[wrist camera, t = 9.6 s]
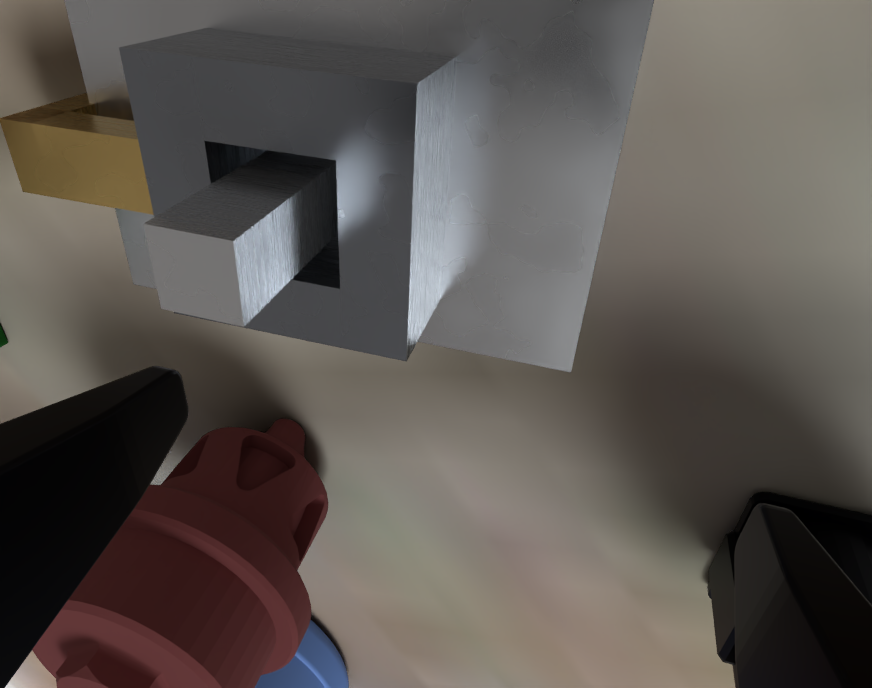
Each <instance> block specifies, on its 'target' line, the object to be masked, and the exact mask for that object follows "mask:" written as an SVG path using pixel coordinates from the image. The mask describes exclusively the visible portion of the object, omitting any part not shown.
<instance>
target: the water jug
mask: <svg viewBox="0 0 872 688" xmlns="http://www.w3.org/2000/svg"><path fill="white" fill-rule="evenodd" d="M255 688H349V683H348V675H347V671H346V667H345V665H344V662H343V660H342V658H341V656H340V654H339V652H338V650H337V649H336V647H335V646H334V644H333V643H332V642H331V640H330V639H329V638H328V637H327V635H326V634H325V633H324V632H323V631H322V630H321V629H320V628H319V627H318V626H317V625H316V624H315V623H314V622H313V621H312V620H311V619H310V623H309V626H308V628H307V630H306V633H305V635H304V637H303V639H302V641H301V643H300V645H299V647H298V649H297V652H296V654H295V656H294V657H293V658H292V660H291V661H290V662H289V663H288V664H287V665H285V666H284V667H283V668H281V669H279V670H276V671H274V672H271V673H268V674H264V675H261V676H260V678H259V680H258V682H257V684H256V686H255Z"/></svg>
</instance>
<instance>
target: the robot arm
mask: <svg viewBox="0 0 872 688" xmlns="http://www.w3.org/2000/svg"><path fill="white" fill-rule="evenodd" d="M187 417H188V404H187V400H186V395H185V390H184V386H183V381H182V377H181V375H180V374H179V372H178V371H176V370H173V369H169V368H164V367H160V366H152V367H149V368H146V369H144V370H141V371H139V372H136V373H133V374H131V375H128V376H125V377H123V378H120V379H118V380H115V381H112V382H110V383H107V384H104V385H102V386H99V387H96V388H94V389H91V390H89V391H86V392H83V393H81V394H78V395H75V396H73V397H70V398H67V399H65V400H62V401H60V402H57V403H54V404H52V405H49V406H46V407H44V408H41V409H38V410H36V411H33V412H31V413H28V414H25V415H23V416H20V417H17V418H15V419H12V420H10V421H7V422H4V423H2V424H0V688H5V686H6V685H7V684H8V682H9V681H10V680H11V678H12V677H13V675H14V674H15V673H16V671H17V670H18V669H19V667H20V666H21V664H22V663H23V662H24V660H25V659H26V657H27V656H28V655H29V653H30V652H31V651H32V649H33V648H34V646H35V645H36V644H37V642H38V641H39V640H40V638H41V637H42V635H43V634H44V633H45V631H46V630H47V628H48V627H49V626H50V624H51V623H52V622H53V620H54V619H55V617H56V616H57V615H58V613H59V612H60V611H61V609H62V608H63V606H64V605H65V604H66V602H67V601H68V599H69V598H70V597H71V595H72V594H73V593H74V591H75V590H76V588H77V587H78V586H79V584H80V583H81V582H82V580H83V579H84V577H85V576H86V575H87V573H88V572H89V570H90V569H91V568H92V566H93V565H94V564H95V562H96V561H97V559H98V558H99V557H100V555H101V554H102V553H103V551H104V550H105V548H106V547H107V546H108V544H109V543H110V542H111V540H112V539H113V537H114V536H115V535H116V533H117V532H118V530H119V529H120V528H121V526H122V525H123V524H124V522H125V521H126V519H127V518H128V517H129V515H130V514H131V513H132V511H133V510H134V508H135V507H136V505H137V504H138V502H139V501H140V499H141V498H142V496H143V495H144V493H145V492H146V490H147V488H148V487H149V485H150V483H151V482H152V480H153V478H154V476H155V475H156V473H157V471H158V470H159V468H160V466H161V464H162V463H163V461H164V459H165V457H166V456H167V454H168V452H169V450H170V449H171V447H172V445H173V444H174V442H175V440H176V438H177V437H178V435H179V433H180V431H181V430H182V428H183V426H184V425H185V422H186V420H187ZM709 580H710V581H709V583H708V586H707V588H708V595H709V597H710V598H711V599H712V608H713V618H714V627H715V636H716V645H717V654H718V656H719V657H720V658H721V660H722V661H723V662H725V663H729V664H732V665H733V672H734V680H735V688H872V516H871V515H867V514H862V513H858V512H853V511H849V510H844V509H840V508H835V507H831V506H827V505H822V504H818V503H813V502H809V501H804V500H800V499H795V498H791V497H786V496H782V495H777V494H773V493H768V492H760V493H756V494H754V495H753V496H752V497H751V498H750V500H749V502H748V504H747V506H746V508H745V510H744V512H743V514H742V516H741V518H740V520H739V522H738V524H737V526H736V528H735V530H734V531H731V532H729V533H728V534H726V536H725V538H724V540H723V542H722V544H721V546H720V548H719V550H718V552H717V554H716V556H715V558H714V560H713V562H712V565H711V567H710V569H709Z"/></svg>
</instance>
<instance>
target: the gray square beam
mask: <svg viewBox="0 0 872 688" xmlns="http://www.w3.org/2000/svg"><path fill="white" fill-rule="evenodd" d="M143 225H144V230H145V235H146V239H147V244H148V249H149V254H150V258H151V263H152V268H153V273H154V277H155V282H156V287H157V292H158V296H159V301H160V306H161V309H165V310H169V311H174V312H178V313H183V314H187V315H192V316H197V317H201V318H206V319H210V320H215V321H219V322H224V323H229V324H233V325H238V326H242V327H244V326H245V325H246V324H247V323H248V322H249V321H250V320H251V319H252V318H253V317H254V316H255V315H256V314H257V313H258V312H259V311H260V310H261V309H262V308H263V307H264V306H265V305H266V304H267V303H268V302H269V301H270V300H271V299H272V298H273V297H274V296H275V295H276V294H277V293H278V292H279V291H280V290H281V289H282V288H283V287H284V286H285V285H286V284H287V283H288V282H289V281H290V280H291V279H292V278H293V277H294V276H295V275H296V274H297V273H298V272H299V271H300V270H301V269H302V268H303V267H304V266H305V265H306V264H307V263H308V262H309V261H310V260H311V259H312V258H313V257H314V256H315V255H316V254H317V253H318V252H319V251H320V250H321V249H322V248H323V247H324V246H325V245H326V244H327V243H328V242H329V241H330V240H331V239H332V238H333V237H334V236H335V235H336V234H337V233H338V208H337V178H336V160H330V159H324V158H317V157H310V156H303V155H297V154H290V153H283V152H277V151H270V150H267V151H266V152H264V153H262V154H261V155H259V156H257V157H256V158H254V159H252V160H250V161H249V162H247V163H245V164H244V165H242V166H240V167H239V168H237V169H235V170H234V171H232V172H230V173H228V174H227V175H225V176H223V177H222V178H220V179H218V180H217V181H215V182H213V183H211V184H210V185H208V186H206V187H205V188H203V189H201V190H200V191H198V192H196V193H194V194H193V195H191V196H189V197H188V198H186V199H184V200H183V201H181V202H179V203H178V204H176V205H174V206H172V207H171V208H169V209H167V210H166V211H164V212H162V213H161V214H159V215H157V216H155V217H154V218H152V219H150V220H149V221H147V222H145V223H144V224H143Z"/></svg>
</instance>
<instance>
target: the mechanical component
mask: <svg viewBox="0 0 872 688" xmlns="http://www.w3.org/2000/svg"><path fill="white" fill-rule="evenodd" d="M304 444H305V433H304V431H303V429H302V428H301V426H300V425H299V424H298V423H296V422H294V421H292V420H289V419H278V420H276V421H275V422H274V423H273V425H272V426H271V427H270V429H269V430H268V431H266V432H265V433H262V432H260V431H256V430H252V429H247V428H241V427H226V428H219V429H216V430H213V431H210V432H208V433H207V434H205V435H204V436H203V437H202V438H201V439H200V440H199V441H198V442H197V443H196V444H195V446H194V447H193V448H192V449H191V450H190V451H189V453H188V454H187V455H186V456H185V457H184V458H183V459H182V460H181V462H180V463H179V464H178V465H177V466H176V467H175V469H174V470H173V471H172V472H171V473H170V475H169V476H168V477H167V478H166V479H165V481H164V482H163V483H162V484H161V485H149V487H148V488H147V490H146V492H145V493H144V495H143V496H142V498H141V499H140V501H139V502H138V504H137V505H136V507H135V508H134V510H133V511H132V513H131V514H130V515H129V517H128V518H127V519H126V521H125V522H124V524H123V525H122V526H121V528H120V529H119V530H118V532H117V533H116V535H115V536H114V537H113V539H112V540H111V542H110V543H109V544H108V546H107V547H106V548H105V550H104V551H103V553H102V554H101V555H100V557H99V558H98V559H97V561H96V562H95V564H94V565H93V566H92V568H91V569H90V570H89V572H88V573H87V575H86V576H85V577H84V579H83V580H82V582H81V583H80V584H79V586H78V587H77V588H76V590H75V591H74V593H73V594H72V595H71V597H70V598H69V599H68V601H67V602H66V604H65V605H64V606H63V608H62V609H61V611H60V612H59V613H58V615H57V616H56V617H55V619H54V620H53V622H52V623H51V624H50V626H49V627H48V628H47V630H46V631H45V633H44V634H43V635H42V637H41V638H40V640H39V641H38V642H37V644H36V645H35V646H34V648H33V649H32V650H33V652H34V653H35V655H36V656H37V658H38V659H39V660H40V662H41V663H42V664H43V665H44V666H45V668H46V669H47V670H48V671H49V672H50V673H51V674H52V675H53V676H54V677H55V678H56V682H57V688H255V686H256V684H257V682H258V680H259V678H260V676H261V675H264V674H268V673H271V672H274V671H276V670H279V669H281V668H283V667H284V666H285V665H287V664H288V663H289V662H290V661H291V660H292V658H293V657H294V656H295V654H296V652H297V649H298V647H299V645H300V643H301V641H302V639H303V637H304V635H305V633H306V630H307V628H308V626H309V623H310V619H311V604H310V600H309V595H308V593H307V590H306V588H305V586H304V583H303V581H302V579H301V577H300V575H299V573H298V571H297V570H298V568H299V566H300V564H301V562H302V560H303V558H304V556H305V555H306V553H307V551H308V549H309V547H310V545H311V543H312V541H313V540H314V538H315V536H316V534H317V532H318V530H319V528H320V527H321V525H322V523H323V521H324V519H325V517H326V514H327V511H328V498H327V493H326V490H325V487H324V485H323V483H322V481H321V479H320V477H319V476H318V474H317V473H316V471H315V470H314V469H313V467H312V466H311V465H310V464H309V462H308V461H307V460H306V459H305V458H304Z"/></svg>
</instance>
